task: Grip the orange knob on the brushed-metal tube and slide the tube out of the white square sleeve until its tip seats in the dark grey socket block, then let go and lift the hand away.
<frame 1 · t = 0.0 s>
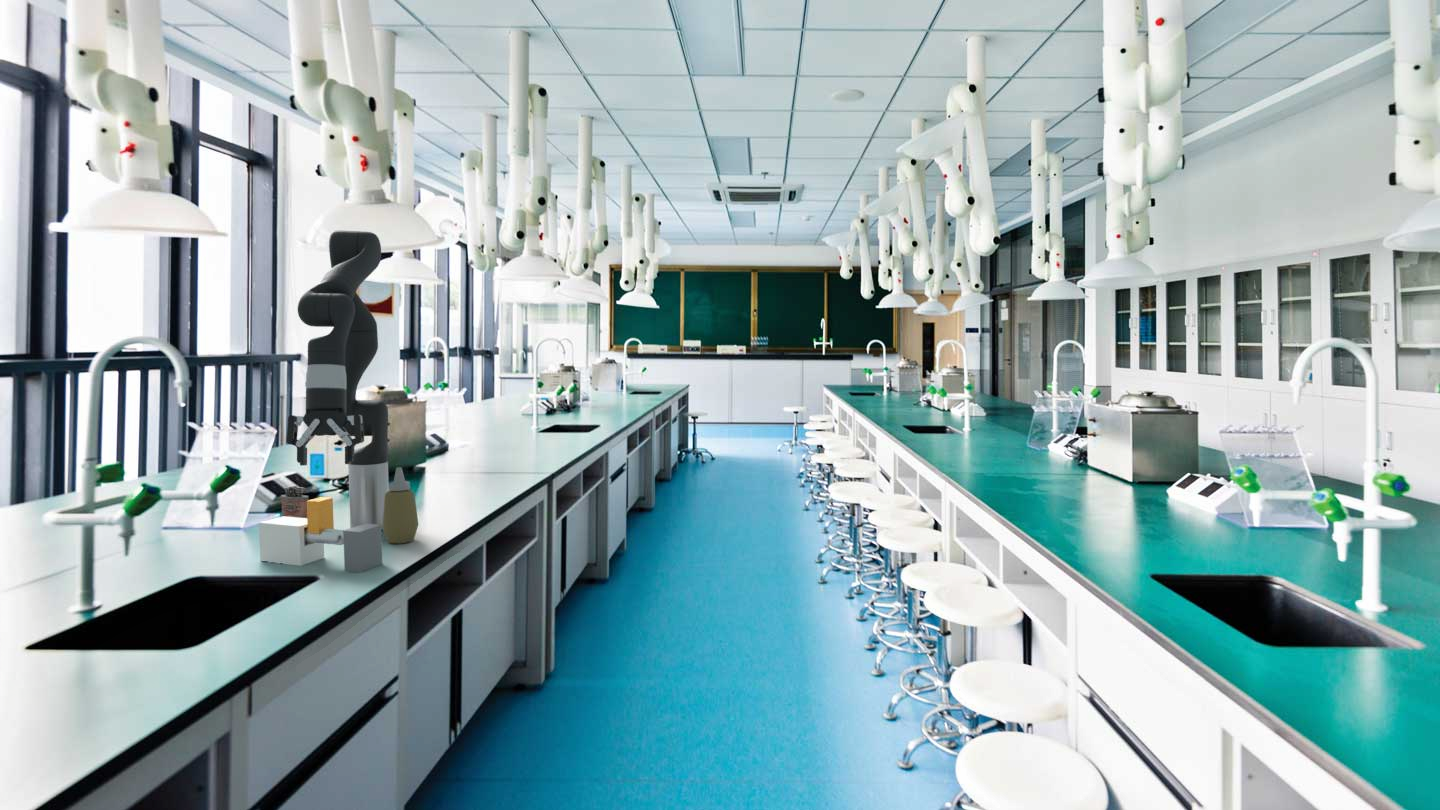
hand: (325, 464, 154), 22 cm above the counter, tool pointing down, fingers open, 8 cm apart
squeeze bottle: (400, 541, 178), on the counter
slip tube: (307, 520, 161), point 9 cm above the counter, slide at 0.0 cm
socket: (363, 547, 157), on the counter
sleeve: (291, 540, 162), on the counter
lighter: (295, 524, 195), on the counter
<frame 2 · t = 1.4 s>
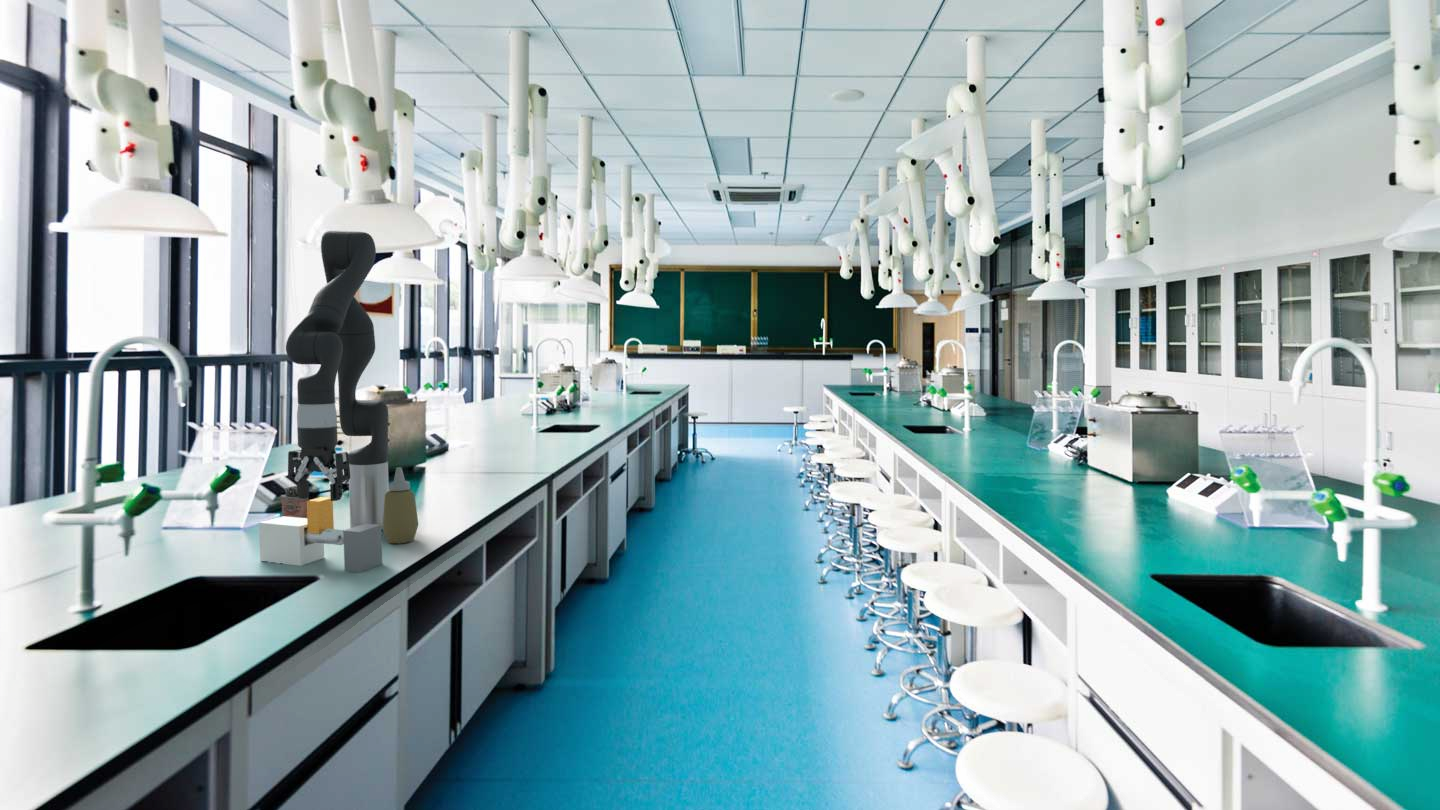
hand: (319, 499, 159), 14 cm above the counter, tool pointing down, fingers open, 8 cm apart
nothing on the counter moved.
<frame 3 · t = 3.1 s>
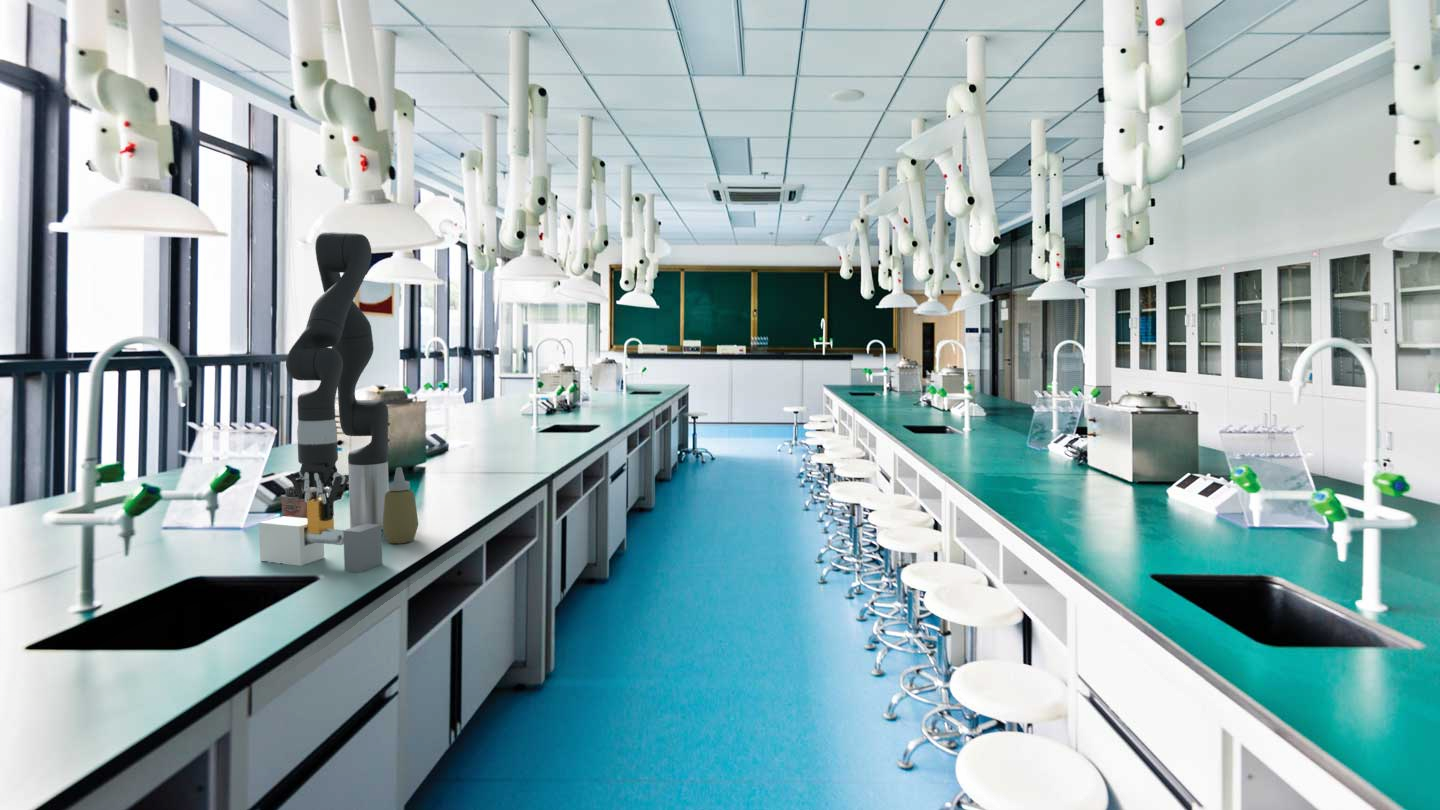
hand: (320, 519, 160), 10 cm above the counter, tool pointing down, fingers closed on slip tube, 3 cm apart
slip tube: (307, 520, 161), point 9 cm above the counter, slide at 0.0 cm, touching gripper
everything else where it was.
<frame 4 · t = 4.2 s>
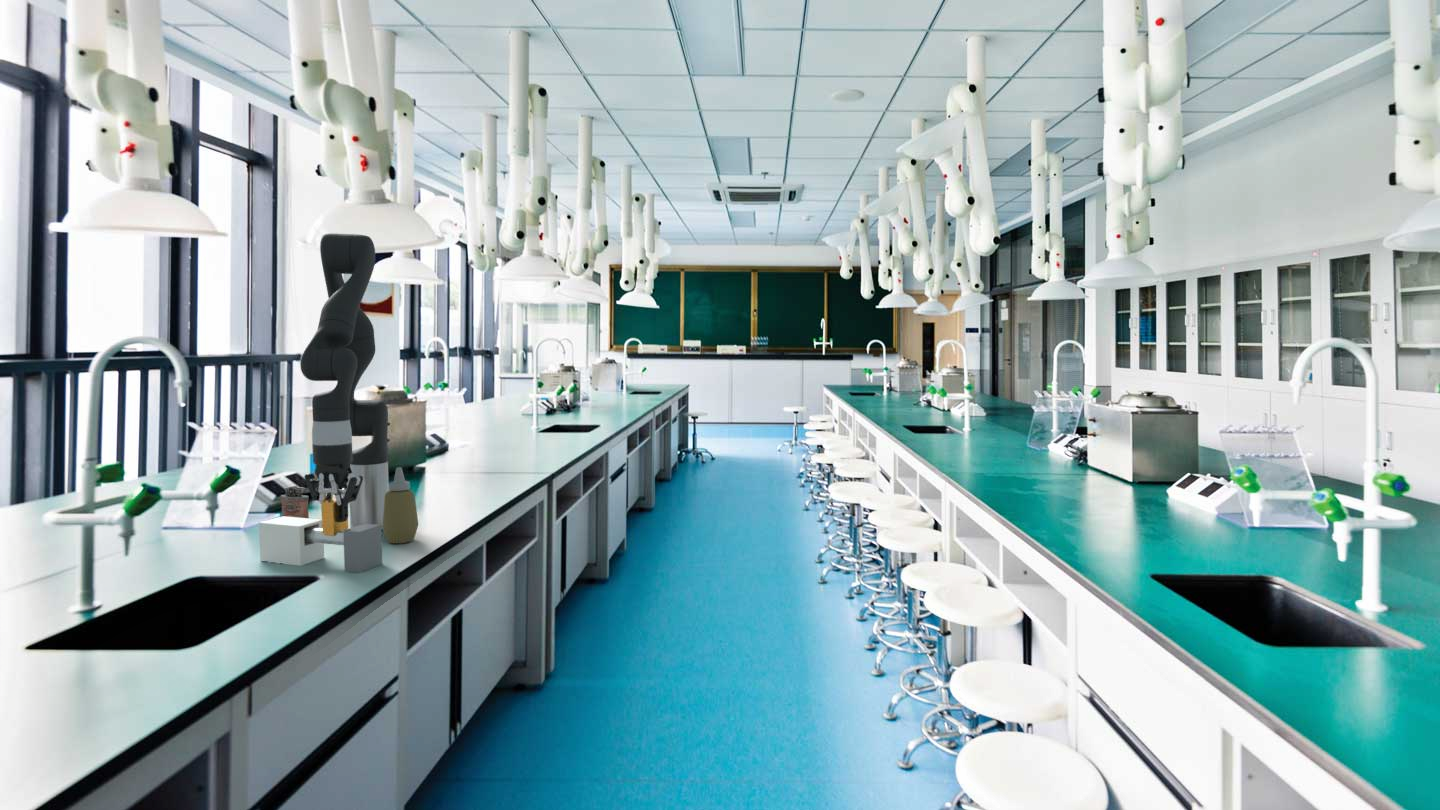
hand: (335, 520, 159), 10 cm above the counter, tool pointing down, fingers closed on slip tube, 3 cm apart
slip tube: (322, 521, 159), point 9 cm above the counter, slide at 3.9 cm, touching gripper
everything else where it was.
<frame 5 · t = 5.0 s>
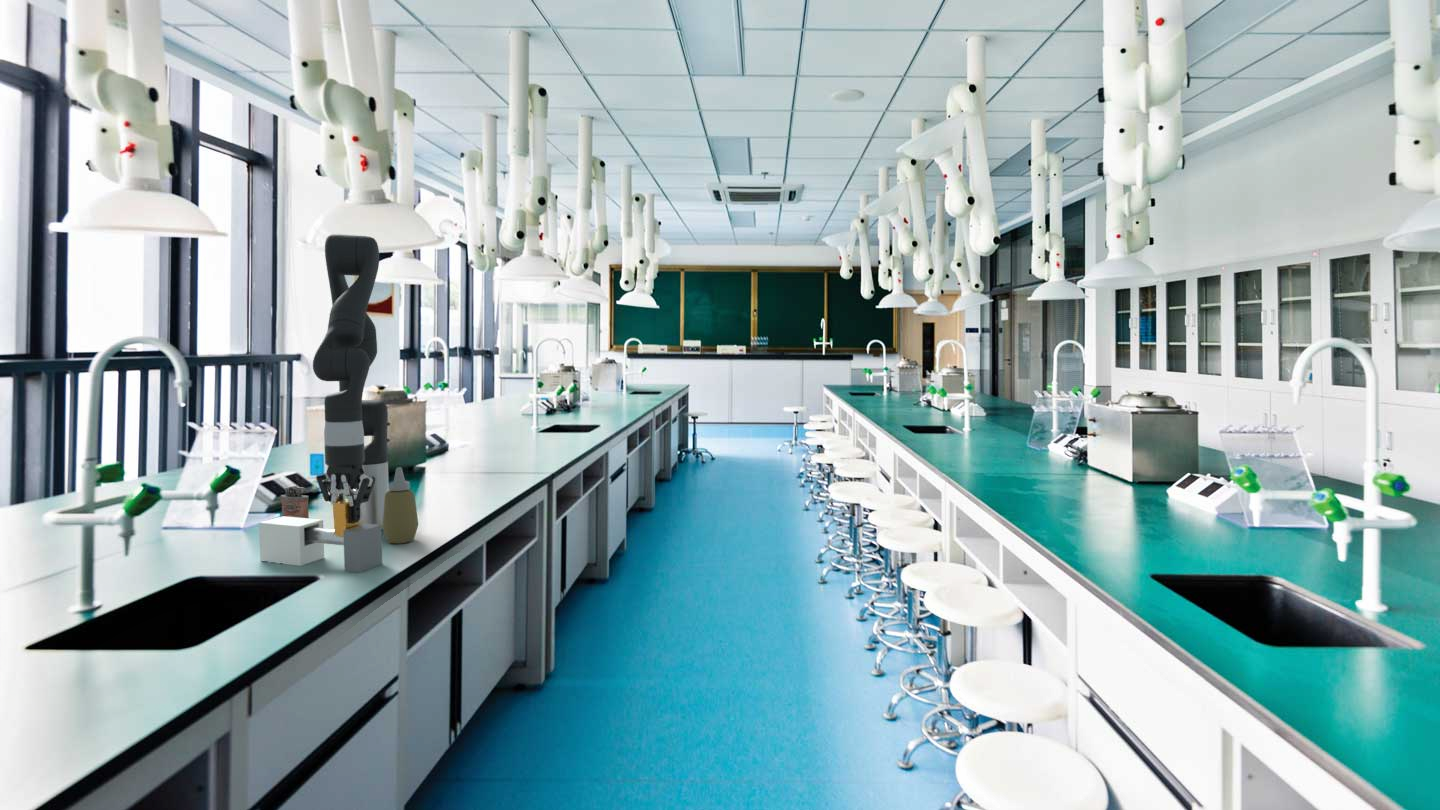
hand: (347, 521, 158), 10 cm above the counter, tool pointing down, fingers closed on slip tube, 3 cm apart
slip tube: (334, 522, 159), point 9 cm above the counter, slide at 7.0 cm, touching gripper
everything else where it was.
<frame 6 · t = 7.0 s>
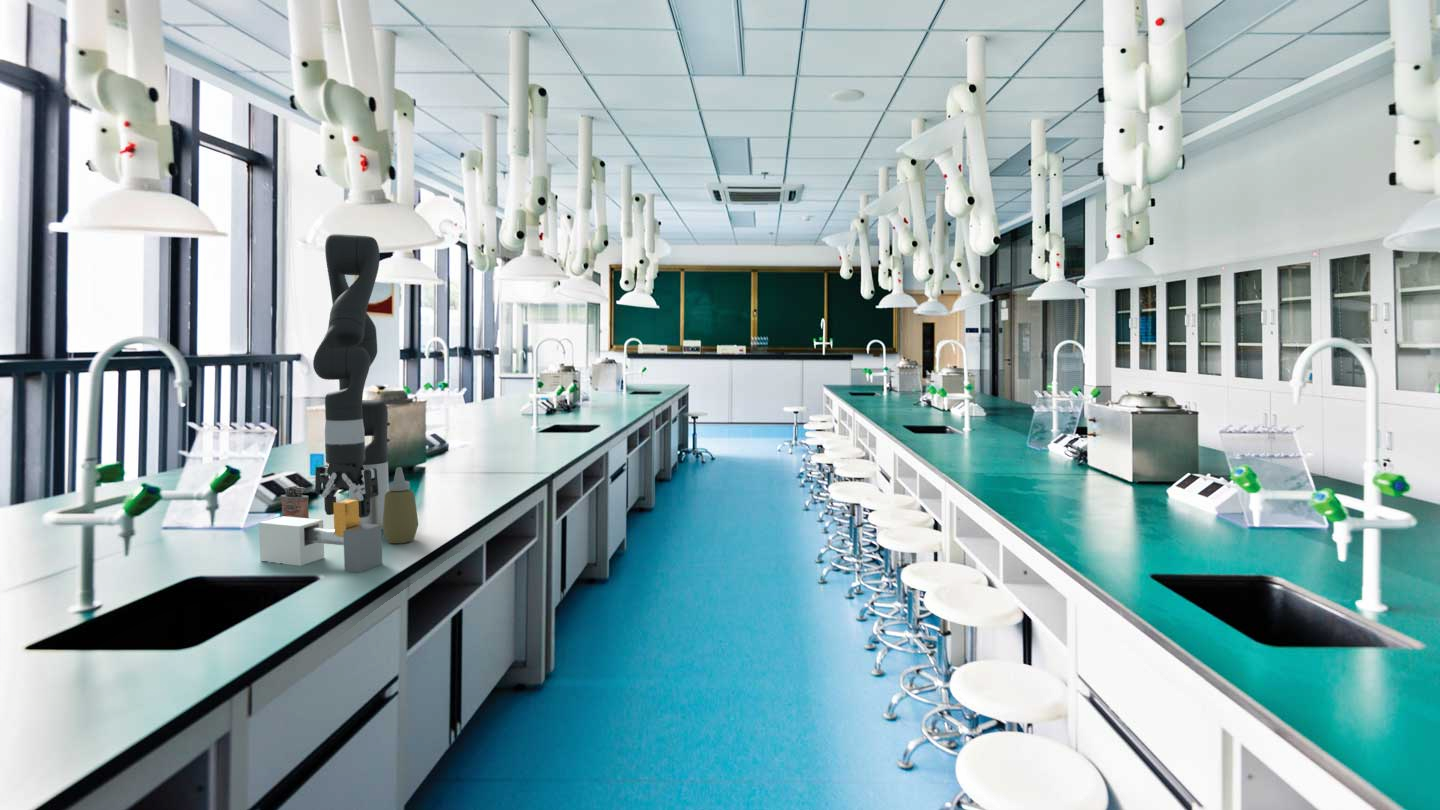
hand: (347, 515, 158), 11 cm above the counter, tool pointing down, fingers open, 8 cm apart
slip tube: (334, 522, 159), point 9 cm above the counter, slide at 7.0 cm
everything else where it was.
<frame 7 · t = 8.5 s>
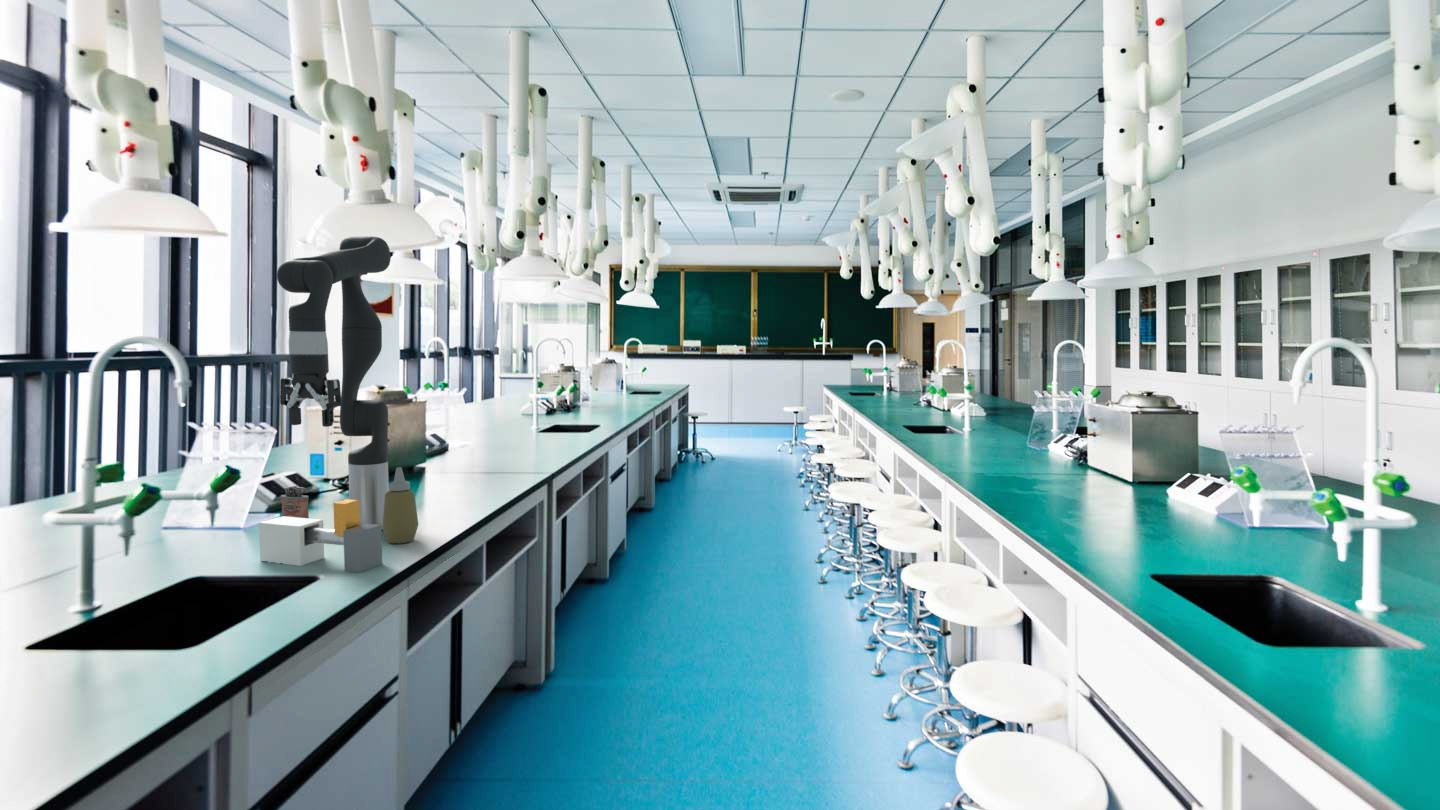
hand: (311, 425, 163), 29 cm above the counter, tool pointing down, fingers open, 8 cm apart
nothing on the counter moved.
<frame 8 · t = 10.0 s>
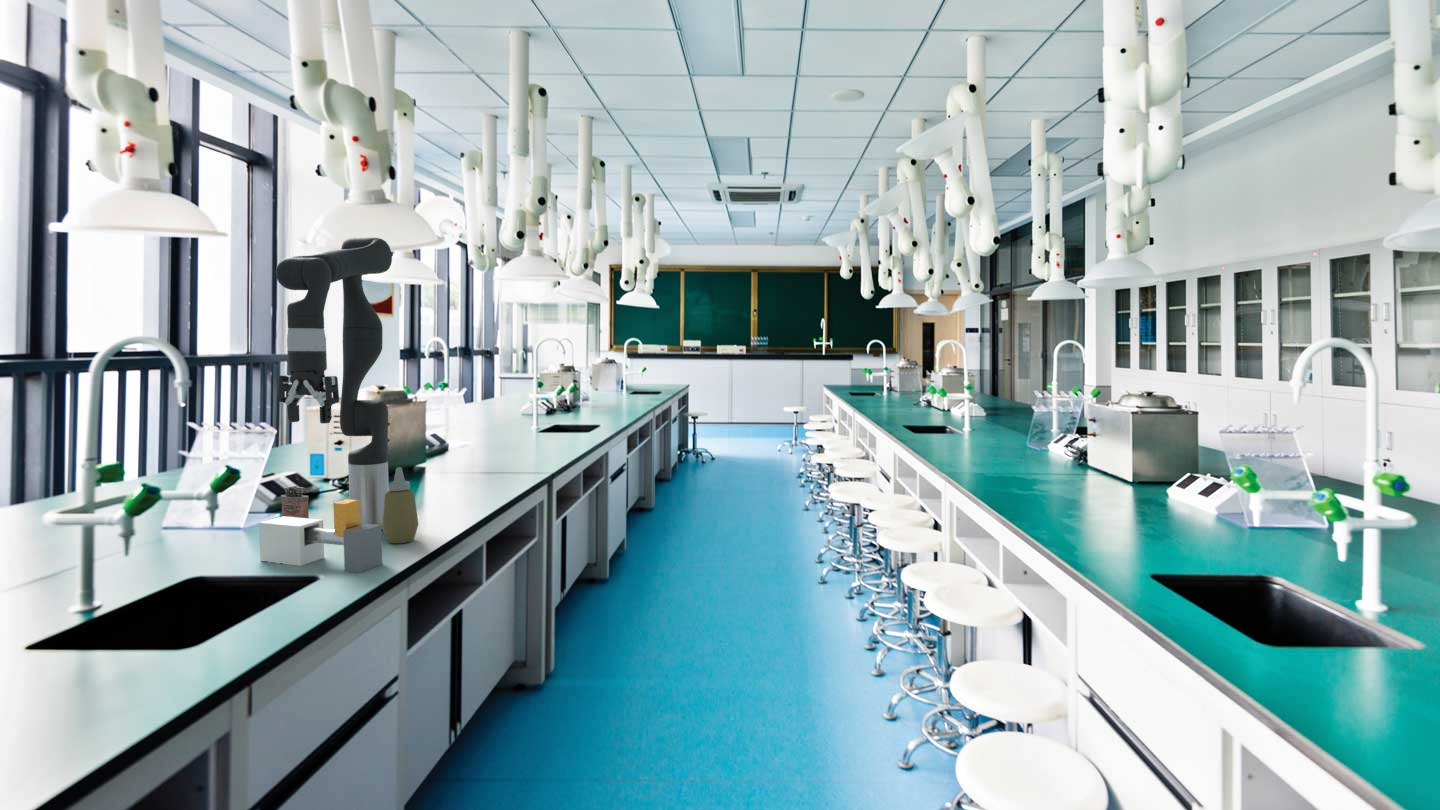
hand: (309, 422, 163), 30 cm above the counter, tool pointing down, fingers open, 8 cm apart
nothing on the counter moved.
at the end: slip tube slide at 7.0 cm; the gripper is holding nothing; squeeze bottle moved 0.2 cm from its start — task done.
